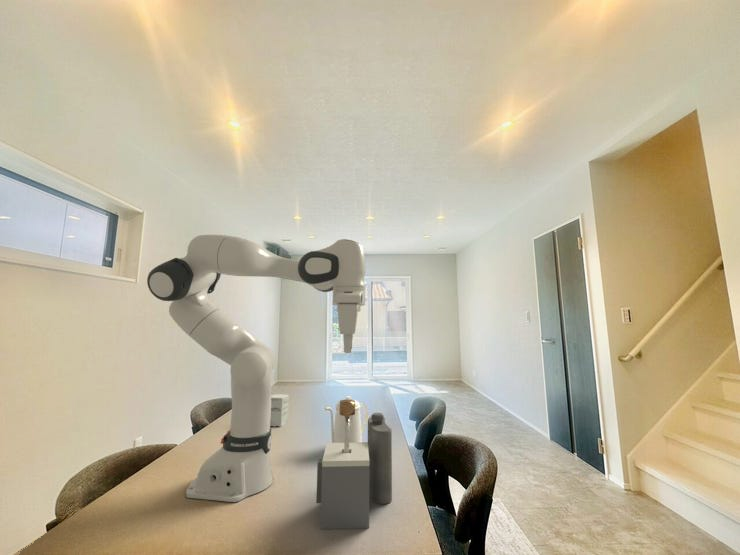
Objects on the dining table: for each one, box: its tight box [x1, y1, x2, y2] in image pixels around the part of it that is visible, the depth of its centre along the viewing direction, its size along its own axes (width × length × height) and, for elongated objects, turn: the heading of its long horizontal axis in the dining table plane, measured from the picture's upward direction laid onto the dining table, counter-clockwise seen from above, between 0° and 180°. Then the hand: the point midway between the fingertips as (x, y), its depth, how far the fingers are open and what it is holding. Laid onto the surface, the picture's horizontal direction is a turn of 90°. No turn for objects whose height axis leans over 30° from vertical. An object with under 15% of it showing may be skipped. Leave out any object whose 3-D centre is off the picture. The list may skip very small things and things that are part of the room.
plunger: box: [339, 398, 355, 453], centre depth 76 cm, size 7×7×25 cm
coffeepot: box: [322, 395, 369, 443], centre depth 112 cm, size 11×25×19 cm, turn 143°
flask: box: [367, 412, 393, 505], centre depth 86 cm, size 15×6×20 cm, turn 7°
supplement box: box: [270, 393, 290, 428], centre depth 140 cm, size 7×7×13 cm
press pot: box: [315, 441, 370, 530], centre depth 74 cm, size 13×11×14 cm
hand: (348, 351), depth 79 cm, fingers open, 8 cm apart
